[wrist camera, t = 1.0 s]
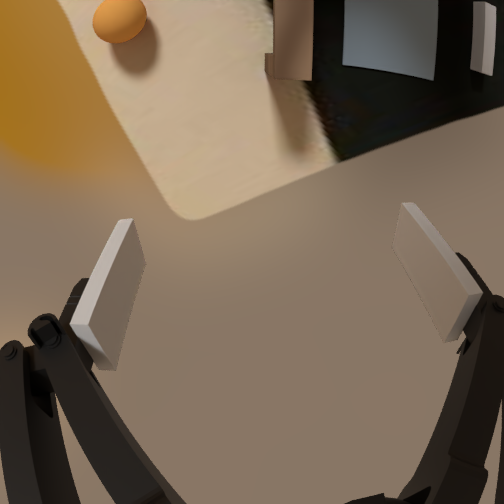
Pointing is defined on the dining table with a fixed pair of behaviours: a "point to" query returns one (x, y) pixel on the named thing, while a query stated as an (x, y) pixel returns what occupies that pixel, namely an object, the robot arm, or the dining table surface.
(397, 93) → the dining table surface
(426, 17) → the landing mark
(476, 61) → the wall
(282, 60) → the bridge
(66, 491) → the robot arm
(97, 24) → the ball
